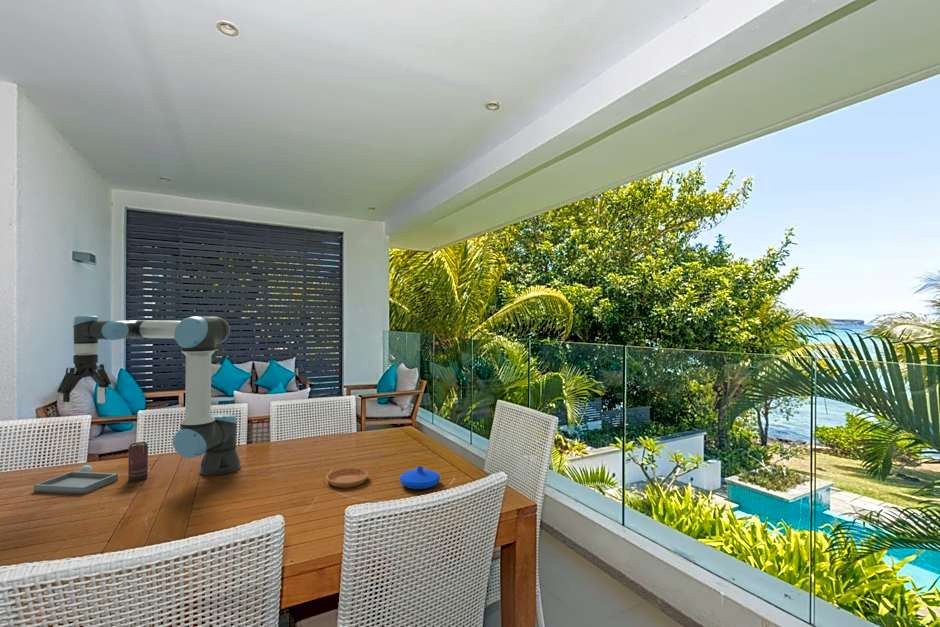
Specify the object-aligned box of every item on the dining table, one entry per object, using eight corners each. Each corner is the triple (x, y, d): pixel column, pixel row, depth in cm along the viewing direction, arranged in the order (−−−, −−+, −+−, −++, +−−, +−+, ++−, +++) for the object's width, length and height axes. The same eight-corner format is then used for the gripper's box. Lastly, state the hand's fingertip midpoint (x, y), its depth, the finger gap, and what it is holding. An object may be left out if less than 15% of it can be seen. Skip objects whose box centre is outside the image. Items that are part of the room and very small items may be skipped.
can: (137, 482, 173) (138, 446, 173) (124, 481, 174) (124, 445, 174) (151, 476, 179) (152, 442, 179) (138, 475, 180) (139, 441, 180)
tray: (117, 480, 175) (117, 473, 175) (83, 494, 161) (83, 487, 161) (71, 477, 177) (71, 471, 177) (34, 491, 163) (34, 484, 163)
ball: (94, 472, 182) (94, 464, 182) (85, 476, 179) (85, 467, 179) (86, 472, 183) (86, 463, 183) (77, 475, 179) (77, 466, 179)
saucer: (375, 477, 181) (375, 470, 181) (353, 492, 166) (353, 484, 166) (342, 472, 186) (342, 465, 186) (317, 486, 171) (317, 479, 171)
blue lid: (407, 496, 162) (407, 477, 162) (394, 481, 176) (394, 464, 176) (446, 489, 170) (446, 470, 170) (430, 475, 184) (431, 458, 184)
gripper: (105, 351, 192) (105, 400, 192) (44, 356, 167) (44, 413, 167) (121, 351, 191) (121, 400, 191) (62, 357, 166) (62, 413, 166)
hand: (85, 406), depth 179 cm, fingers open, 13 cm apart
